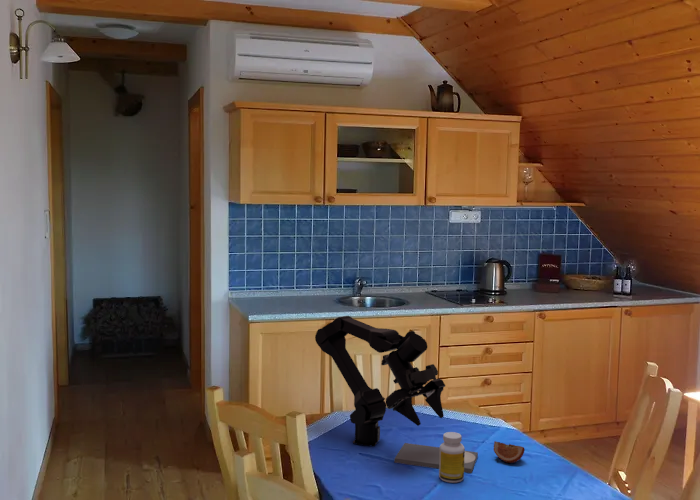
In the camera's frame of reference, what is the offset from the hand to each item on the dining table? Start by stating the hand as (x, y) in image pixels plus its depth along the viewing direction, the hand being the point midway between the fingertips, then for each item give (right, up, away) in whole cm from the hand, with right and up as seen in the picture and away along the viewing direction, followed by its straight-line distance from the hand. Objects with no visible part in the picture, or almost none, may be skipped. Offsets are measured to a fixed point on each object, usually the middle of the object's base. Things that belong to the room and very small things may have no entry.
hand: (431, 421), depth 192 cm
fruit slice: (+22, -13, +7) cm, 27 cm away
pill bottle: (+5, -14, -5) cm, 16 cm away
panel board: (+2, -12, +7) cm, 14 cm away
